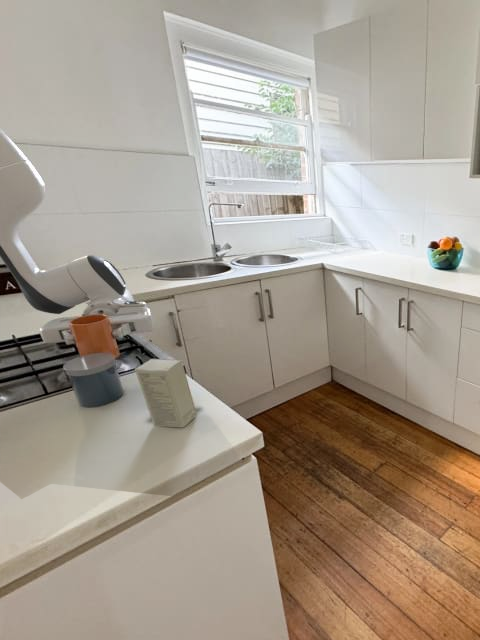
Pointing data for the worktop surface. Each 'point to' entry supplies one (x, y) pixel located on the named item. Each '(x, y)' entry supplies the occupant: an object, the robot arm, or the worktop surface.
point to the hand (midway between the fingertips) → (94, 338)
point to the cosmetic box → (166, 392)
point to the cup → (94, 335)
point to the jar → (94, 379)
